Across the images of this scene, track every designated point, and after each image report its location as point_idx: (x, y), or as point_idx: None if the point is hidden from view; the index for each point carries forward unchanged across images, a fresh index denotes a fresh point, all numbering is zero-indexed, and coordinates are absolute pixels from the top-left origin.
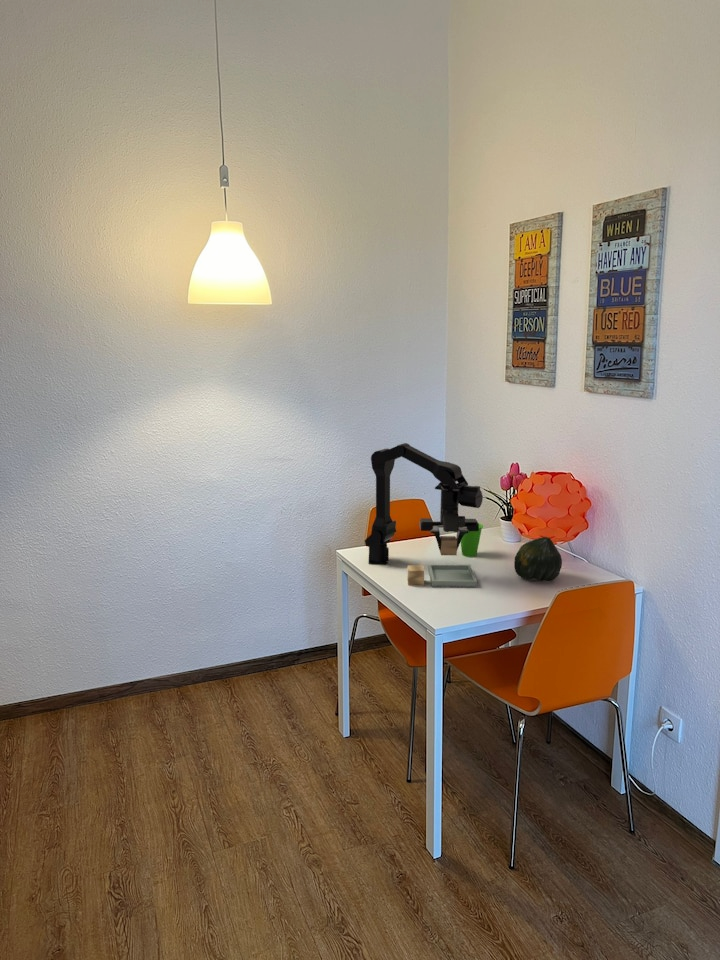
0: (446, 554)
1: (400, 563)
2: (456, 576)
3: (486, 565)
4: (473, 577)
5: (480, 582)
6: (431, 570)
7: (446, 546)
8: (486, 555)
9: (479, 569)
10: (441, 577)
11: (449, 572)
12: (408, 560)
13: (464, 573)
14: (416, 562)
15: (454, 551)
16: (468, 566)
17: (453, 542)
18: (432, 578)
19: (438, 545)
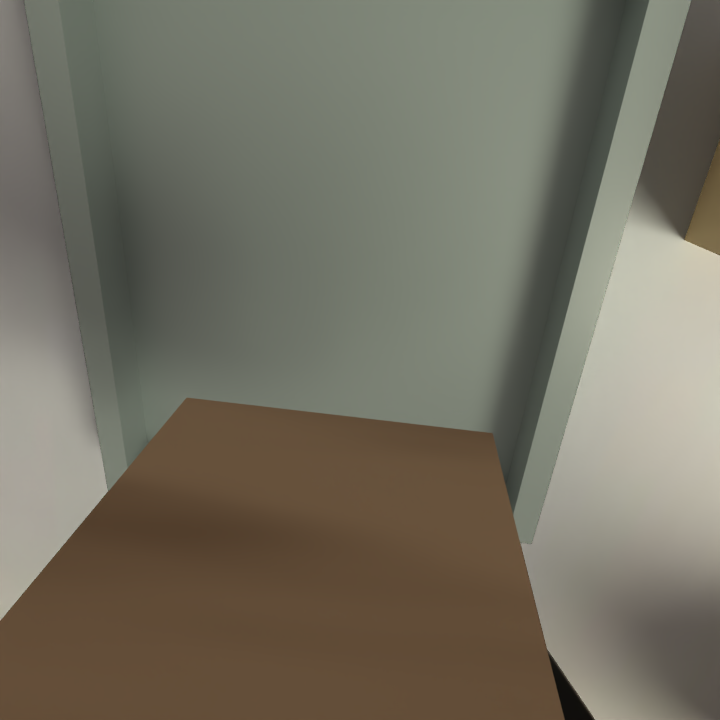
0: (385, 428)
1: (711, 664)
2: (280, 270)
3: (5, 541)
4: (61, 65)
5: (28, 107)
6: (561, 374)
7: (377, 568)
8: None
9: (56, 469)
10: (459, 252)
11: (337, 394)
12: (613, 703)
13: (187, 351)
14: (563, 663)
15: (199, 450)
16: (125, 451)
17: (111, 660)
18: (665, 48)
19: (563, 680)
